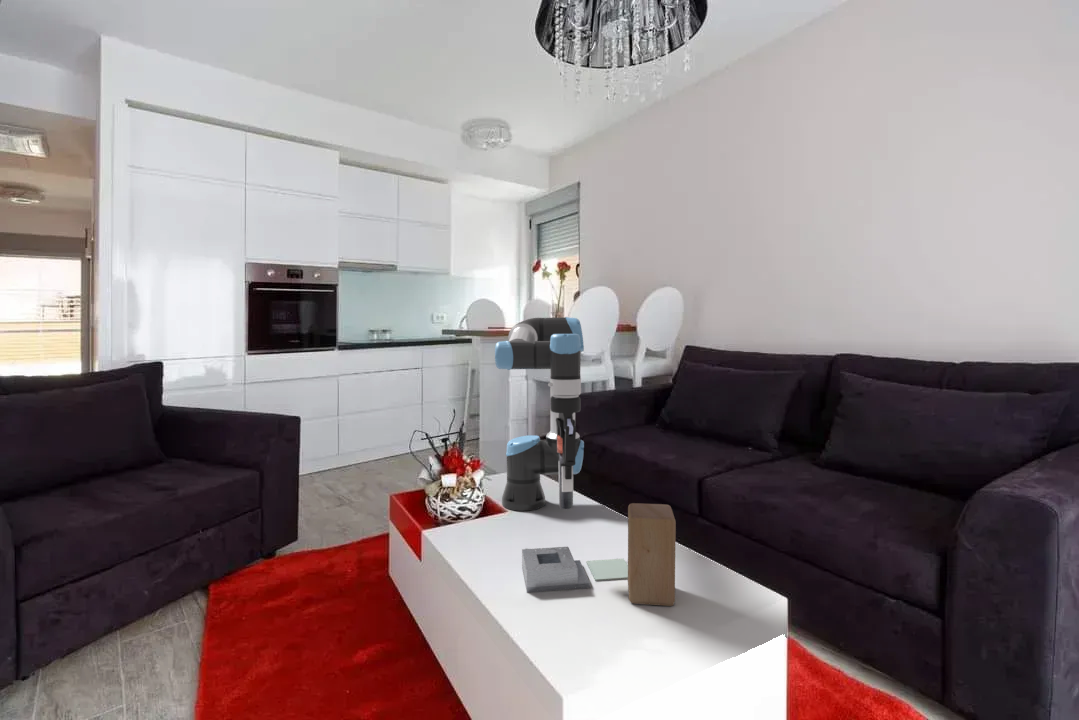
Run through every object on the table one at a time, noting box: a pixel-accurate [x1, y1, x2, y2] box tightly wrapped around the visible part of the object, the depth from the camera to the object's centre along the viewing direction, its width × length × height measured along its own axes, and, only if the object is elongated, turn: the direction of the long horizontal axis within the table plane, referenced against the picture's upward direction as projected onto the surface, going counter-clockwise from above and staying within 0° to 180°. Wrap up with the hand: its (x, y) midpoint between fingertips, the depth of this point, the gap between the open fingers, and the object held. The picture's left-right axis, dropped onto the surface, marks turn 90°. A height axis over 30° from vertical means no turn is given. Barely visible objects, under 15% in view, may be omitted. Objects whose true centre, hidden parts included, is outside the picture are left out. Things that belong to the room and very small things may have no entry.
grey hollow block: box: [521, 546, 591, 593], centre depth 126 cm, size 12×15×5 cm
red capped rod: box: [557, 435, 574, 510], centre depth 129 cm, size 4×4×18 cm
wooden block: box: [627, 502, 677, 607], centre depth 117 cm, size 10×10×20 cm
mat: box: [586, 558, 628, 582], centre depth 130 cm, size 10×10×1 cm
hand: (565, 488), depth 129 cm, fingers closed on red capped rod, 3 cm apart
